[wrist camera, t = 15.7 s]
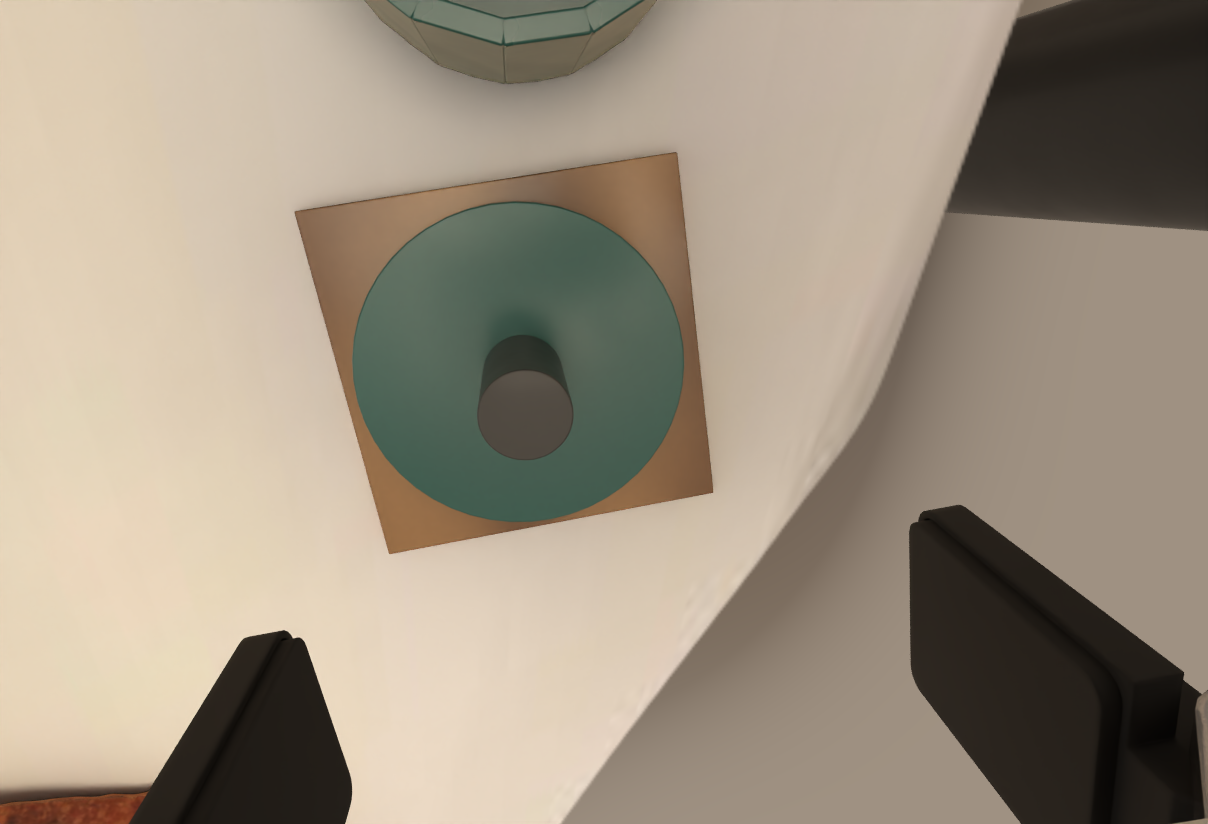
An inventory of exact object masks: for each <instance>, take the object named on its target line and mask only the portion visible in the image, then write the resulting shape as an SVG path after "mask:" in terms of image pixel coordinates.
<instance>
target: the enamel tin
mask: <svg viewBox="0 0 1208 824" xmlns="http://www.w3.org/2000/svg"><path fill="white" fill-rule="evenodd" d="M365 1H366V2H367V4H368V5H369V6H370V7H371V9H372V10H373V11H374V12H375V14H376V15H377V16H378V17H379V18H380V19H381V21H383V22H384V23H385V24H386V25H388V26H389V27H390V28H392V29H393V30H394V31H395V32H397V33H398V34H399V35H401V36H402V37H403V38H404V39H405V40H406V41H408V42H409V43H410V44H411V45H412V46H414V47H415V48H417V49H418V50H419V51H421V52H422V53H424V54H425V55H426V56H428V57H429V58H430V59H431V60H433V61H434V62H435V63H437V64H438V65H441V66H443V67H446V68H450V69H453V70H455V71H458V72H461V73H464V74H467V75H469V76H472V77H476V78H481V79H486V80H490V81H496V82H499V83H503V84H505V83H506V84H511V83H522V82H536V81H541V80H546V79H551V78H555V77H559V76H566V75H569V74H572V73H574V72H576V71H577V70H579V69H580V68H582V67H583V66H585V65H587V64H589V63H590V62H592V61H594V60H596V59H597V58H599V57H600V56H601V55H603V54H604V53H605V52H607V51H608V50H610V49H611V48H613V47H614V46H616V45H617V44H619V43H620V42H622V41H624V40H625V39H626V38H627V37H628V36H629V35H630V33H631V32H632V31H633V30H634V28H635V27H636V26H637V25H638V23H639V22H640V21H641V20H642V18H643V17H644V16H645V15H646V13H647V12H648V11H649V10H650V8H651V7H652V6H653V5H654V3H655V2H656V1H657V0H365Z"/></svg>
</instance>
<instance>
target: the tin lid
mask: <svg viewBox="0 0 1208 824" xmlns="http://www.w3.org/2000/svg"><path fill="white" fill-rule="evenodd" d="M352 367H353V382H354V387H355V392H356V397H357V402H358V405H359V408H360V411H361V413H362V416H363V419H364V422H365V424H366V426H367V428H368V430H369V432H370V434H371V436H372V438H373V440H374V442H375V443H376V445H377V446H378V448H379V449H380V450H381V452H382V453H383V455H384V456H385V458H386V459H387V460H388V461H389V462H390V463H391V465H392V466H393V467H394V468H395V469H396V470H397V471H398V472H399V474H401V475H402V476H403V477H404V478H405V479H406V480H407V481H409V482H410V483H411V484H412V485H413V486H414V487H416V488H417V489H418V490H420V491H421V492H423V493H424V494H426V495H427V496H429V497H430V498H432V499H434V500H436V501H438V502H440V503H442V504H444V505H446V506H448V507H450V508H452V509H454V510H457V511H460V512H463V513H465V514H468V515H471V516H476V517H480V518H484V519H489V520H496V521H505V522H534V521H541V520H549V519H554V518H558V517H562V516H566V515H570V514H573V513H575V512H578V511H580V510H583V509H586V508H588V507H590V506H592V505H594V504H596V503H598V502H600V501H602V500H604V499H606V498H607V497H609V496H610V495H612V494H613V493H615V492H616V491H617V490H619V489H620V488H622V487H623V486H624V485H625V484H627V483H628V482H629V481H630V480H631V479H632V478H633V477H634V476H636V475H637V474H638V473H639V472H640V471H641V469H642V468H643V467H644V466H645V465H646V464H647V463H648V461H649V460H650V459H651V458H652V456H653V455H654V454H655V452H656V451H657V449H658V448H659V446H660V445H661V443H662V442H663V440H664V438H665V436H666V434H667V432H668V430H669V428H670V426H671V424H672V421H673V419H674V416H675V413H676V410H677V407H678V404H679V400H680V395H681V390H682V386H683V374H684V350H683V341H682V335H681V330H680V324H679V321H678V318H677V315H676V312H675V309H674V306H673V304H672V301H671V299H670V297H669V295H668V293H667V291H666V289H665V287H664V285H663V283H662V282H661V280H660V279H659V277H658V276H657V274H656V273H655V271H654V270H653V268H652V267H651V266H650V265H649V264H648V262H647V261H646V260H645V259H644V258H643V257H642V255H641V254H640V253H639V252H638V251H637V250H636V249H635V248H634V247H632V246H631V245H630V244H629V243H628V242H627V241H626V240H624V239H623V238H622V237H621V236H620V235H618V234H617V233H615V232H614V231H612V230H611V229H609V228H608V227H606V226H604V225H603V224H601V223H599V222H597V221H595V220H593V219H591V218H589V217H587V216H585V215H583V214H580V213H577V212H574V211H571V210H568V209H565V208H562V207H559V206H554V205H548V204H543V203H537V202H518V201H512V202H501V203H490V204H486V205H482V206H477V207H473V208H469V209H466V210H463V211H461V212H458V213H455V214H453V215H450V216H447V217H446V218H444V219H442V220H440V221H438V222H436V223H435V224H433V225H431V226H429V227H427V228H426V229H424V230H423V231H421V232H420V233H419V234H417V235H416V236H415V237H413V238H412V239H411V240H409V241H408V242H407V243H406V244H405V245H404V246H403V247H402V248H401V249H400V250H399V251H398V252H397V253H396V254H395V255H394V256H393V257H392V258H391V259H390V260H389V262H388V263H387V264H386V266H385V267H384V268H383V269H382V271H381V272H380V273H379V275H378V276H377V278H376V280H375V281H374V283H373V285H372V287H371V289H370V290H369V292H368V294H367V296H366V299H365V301H364V304H363V306H362V309H361V312H360V314H359V317H358V322H357V326H356V330H355V335H354V342H353V354H352Z"/></svg>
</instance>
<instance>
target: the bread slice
mask: <svg viewBox="0 0 1208 824" xmlns="http://www.w3.org/2000/svg"><path fill="white" fill-rule="evenodd" d="M147 793H148V791H147V792H144V793H140V794H108V795H104V796H98V797H63V798H54V799H47V800H39V801H21V802H11V803H6V804H1V805H0V824H129V822H130V820H131V819H132V817H133V816H134V814H135V812H136V811H137V809H138V807H139V806H140V804H141V803H142V801H143V799H144V798H145V796H146V795H147Z"/></svg>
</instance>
